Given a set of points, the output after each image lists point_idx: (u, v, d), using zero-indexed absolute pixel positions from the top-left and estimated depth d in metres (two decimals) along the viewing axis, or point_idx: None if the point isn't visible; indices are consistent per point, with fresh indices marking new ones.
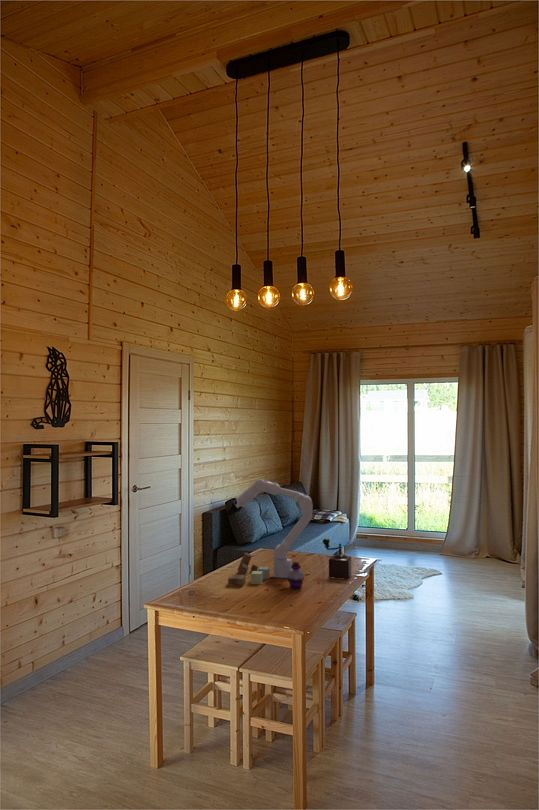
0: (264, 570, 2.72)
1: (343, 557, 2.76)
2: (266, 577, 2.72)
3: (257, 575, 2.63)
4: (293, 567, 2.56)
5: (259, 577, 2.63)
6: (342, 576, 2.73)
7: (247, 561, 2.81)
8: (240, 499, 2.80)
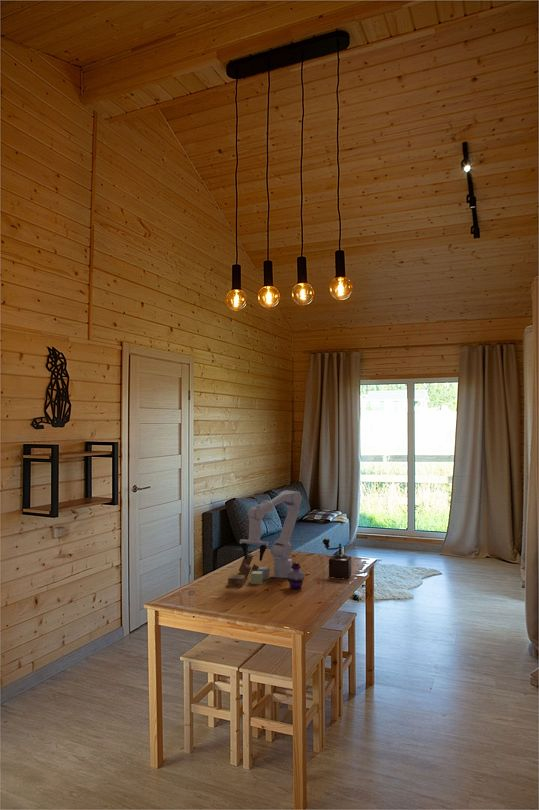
0: (264, 570, 2.72)
1: (343, 557, 2.76)
2: (266, 577, 2.72)
3: (257, 575, 2.63)
4: (293, 567, 2.56)
5: (259, 577, 2.63)
6: (342, 576, 2.73)
7: (249, 561, 2.81)
8: (258, 539, 2.65)
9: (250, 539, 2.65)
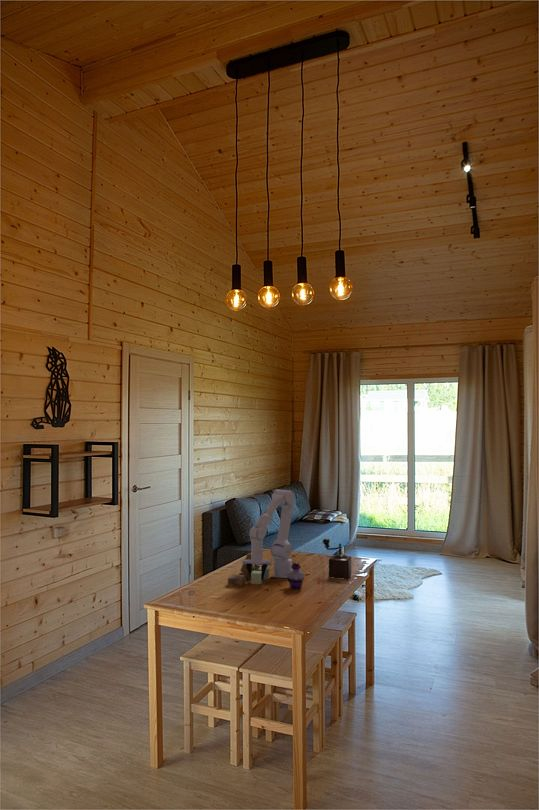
0: None
1: (343, 557, 2.76)
2: (266, 577, 2.72)
3: (257, 575, 2.63)
4: (293, 567, 2.56)
5: (259, 577, 2.63)
6: (342, 576, 2.73)
7: None
8: (261, 559, 2.65)
9: (253, 559, 2.64)
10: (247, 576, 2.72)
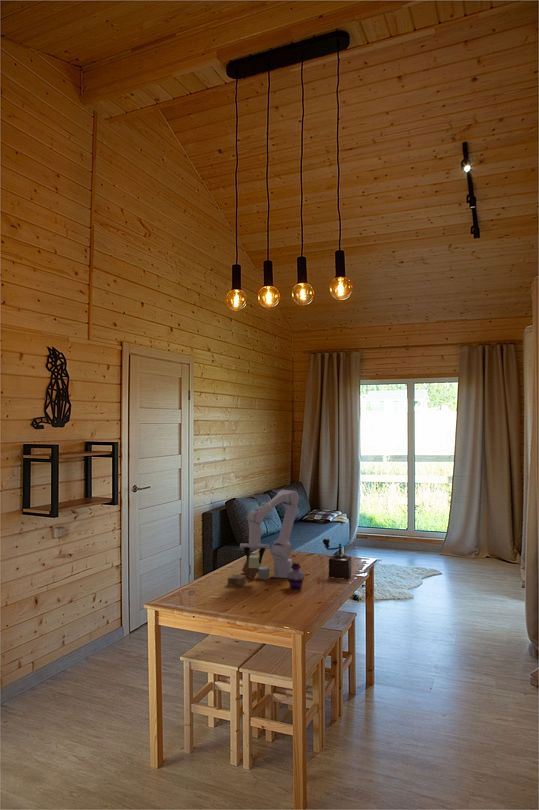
0: (264, 570, 2.72)
1: (343, 557, 2.76)
2: (266, 577, 2.72)
3: (255, 559, 2.63)
4: (293, 567, 2.56)
5: (257, 561, 2.63)
6: (342, 576, 2.73)
7: None
8: (259, 542, 2.65)
9: (251, 543, 2.64)
10: (250, 576, 2.72)
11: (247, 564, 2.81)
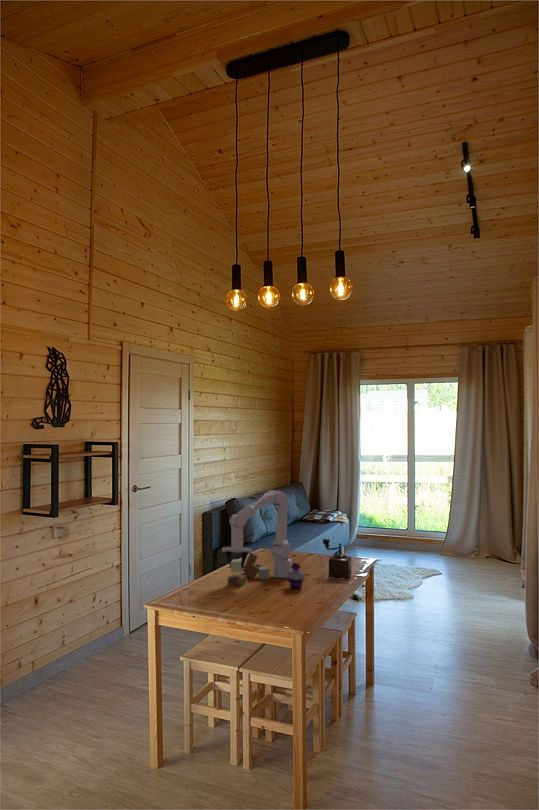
0: (265, 570, 2.72)
1: (343, 557, 2.76)
2: (267, 577, 2.72)
3: (237, 563, 2.60)
4: (293, 567, 2.56)
5: (239, 565, 2.60)
6: (342, 576, 2.73)
7: (253, 561, 2.81)
8: (241, 546, 2.61)
9: (233, 547, 2.61)
10: (251, 576, 2.72)
11: (248, 564, 2.81)
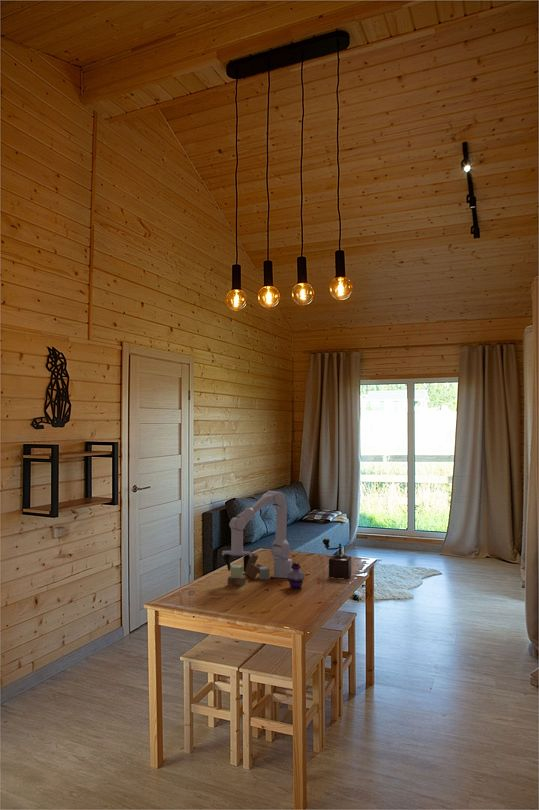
0: (265, 570, 2.72)
1: (343, 557, 2.76)
2: (267, 577, 2.72)
3: (237, 569, 2.60)
4: (293, 567, 2.56)
5: (239, 571, 2.60)
6: (342, 576, 2.73)
7: (254, 561, 2.81)
8: (241, 550, 2.61)
9: (233, 550, 2.61)
10: (251, 576, 2.72)
11: (248, 564, 2.81)
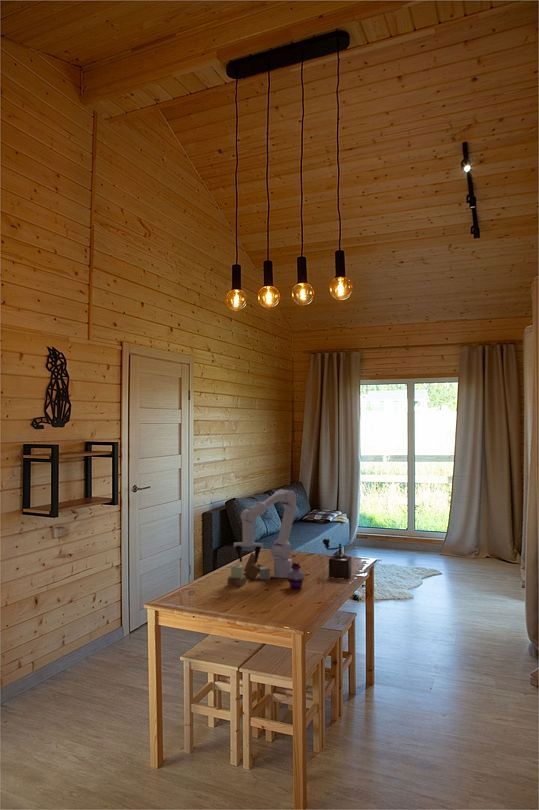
0: (266, 570, 2.72)
1: (343, 557, 2.76)
2: (268, 577, 2.72)
3: (237, 569, 2.60)
4: (293, 567, 2.56)
5: (239, 571, 2.60)
6: (342, 576, 2.73)
7: None
8: (252, 541, 2.65)
9: (244, 542, 2.64)
10: (252, 576, 2.71)
11: (249, 564, 2.81)
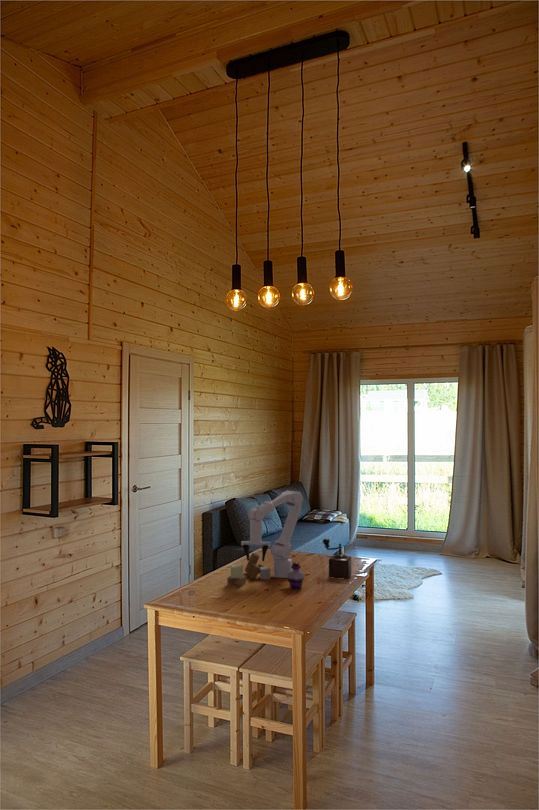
0: (266, 570, 2.72)
1: (343, 557, 2.76)
2: (268, 577, 2.72)
3: (237, 569, 2.60)
4: (293, 567, 2.56)
5: (239, 571, 2.60)
6: (342, 576, 2.73)
7: (255, 561, 2.81)
8: (260, 540, 2.67)
9: (252, 540, 2.67)
10: (252, 576, 2.71)
11: (249, 564, 2.81)
